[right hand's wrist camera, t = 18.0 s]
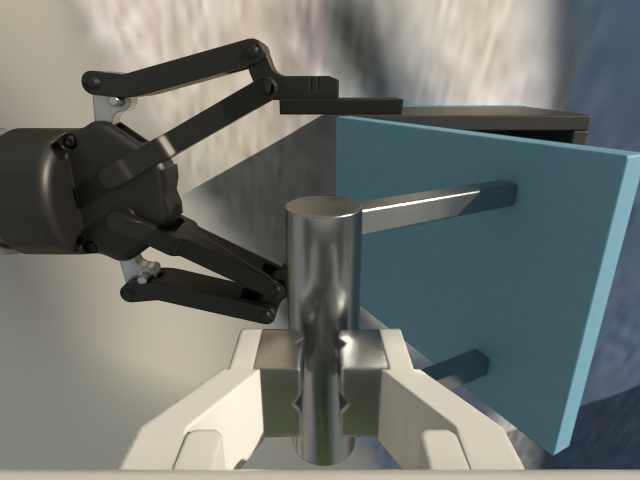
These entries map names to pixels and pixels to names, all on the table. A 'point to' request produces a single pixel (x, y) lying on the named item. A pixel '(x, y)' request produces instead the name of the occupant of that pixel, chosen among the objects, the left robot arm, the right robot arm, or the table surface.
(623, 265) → the table surface
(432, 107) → the chest
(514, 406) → the lid
